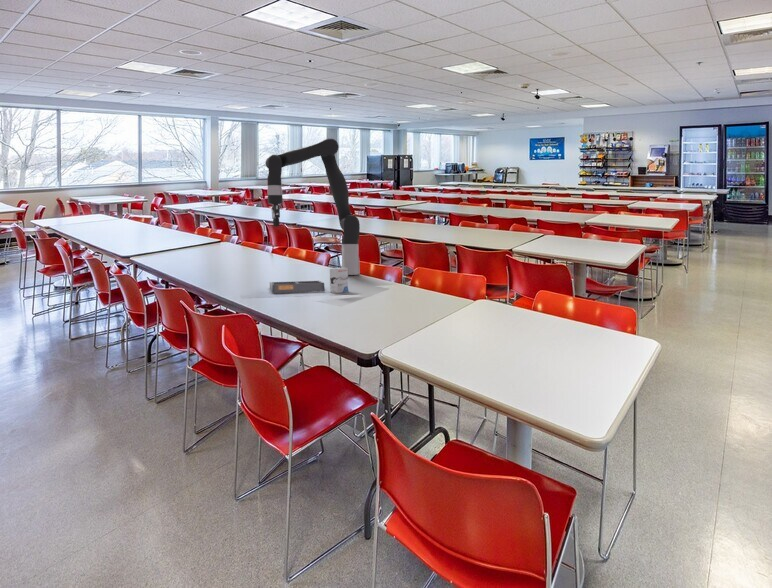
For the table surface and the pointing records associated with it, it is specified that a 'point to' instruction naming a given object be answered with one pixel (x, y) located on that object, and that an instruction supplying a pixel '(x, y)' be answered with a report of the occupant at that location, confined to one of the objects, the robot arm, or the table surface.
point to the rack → (296, 286)
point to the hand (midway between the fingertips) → (276, 226)
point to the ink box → (338, 280)
